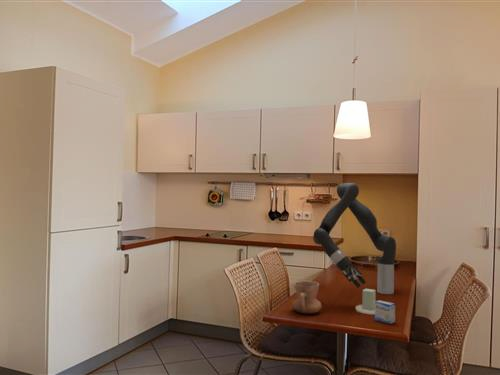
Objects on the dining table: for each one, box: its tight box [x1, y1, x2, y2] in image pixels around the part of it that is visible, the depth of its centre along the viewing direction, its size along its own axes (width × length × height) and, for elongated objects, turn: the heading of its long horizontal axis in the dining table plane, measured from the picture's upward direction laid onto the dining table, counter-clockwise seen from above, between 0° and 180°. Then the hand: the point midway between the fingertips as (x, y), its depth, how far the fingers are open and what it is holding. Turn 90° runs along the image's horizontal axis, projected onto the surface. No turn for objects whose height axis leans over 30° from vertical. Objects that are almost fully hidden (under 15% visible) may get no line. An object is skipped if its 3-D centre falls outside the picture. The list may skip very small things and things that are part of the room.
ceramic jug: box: [291, 280, 323, 315], centre depth 204 cm, size 18×14×14 cm
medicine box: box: [374, 299, 396, 325], centre depth 191 cm, size 8×4×9 cm, turn 45°
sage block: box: [361, 288, 377, 310], centre depth 207 cm, size 5×5×9 cm
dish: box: [355, 304, 375, 316], centre depth 207 cm, size 13×13×1 cm
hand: (362, 285), depth 209 cm, fingers open, 8 cm apart
